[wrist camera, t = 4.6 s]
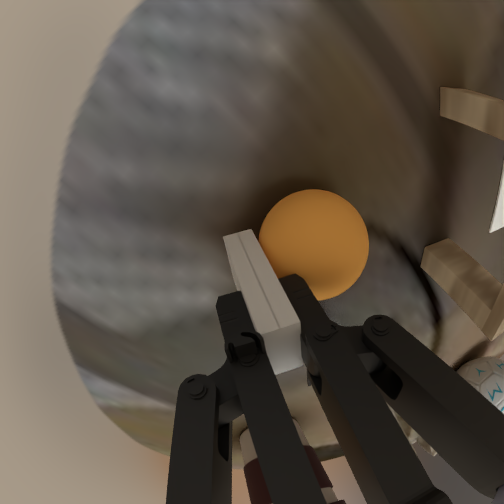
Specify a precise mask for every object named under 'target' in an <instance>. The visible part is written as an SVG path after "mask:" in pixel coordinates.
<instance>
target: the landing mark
mask: <svg viewBox="0 0 504 504" xmlns="http://www.w3.org/2000/svg"><path fill="white" fill-rule="evenodd" d="M502 227H504V162H503V169H502V175H501V180H500V185H499V191H498V195H497V200H496V205H495V209H494V213H493V217H492V221H491V225H490V229H489V233H491V232H493V231H495V230H498V229H500V228H502Z"/></svg>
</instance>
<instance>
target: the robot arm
mask: <svg viewBox="0 0 504 504" xmlns="http://www.w3.org/2000/svg"><path fill="white" fill-rule="evenodd" d="M223 239H224V243H225V247H226V251H227V255H228V259H229V263H230V267H231V271H232V275H233V279H234V282H235V285H236V288H237V292H233V293H230V294H226V295H223V296H219V297H218V300H217V303H216V309H217V313H218V317H219V321H220V325H221V329H222V333H223V336H224V340H225V352H226V355H227V359H226V361H225V363H224V365H223V366H222V367H221V368H220V369H218V370H217V371H216V372H214V373H212V374H211V375H209V376H206V375H202V374H196V375H192V376H190V377H188V378H186V379H185V380H184V381H183V382H182V383H181V385H180V387H179V390H178V397H177V404H176V412H175V420H174V428H173V437H172V445H171V455H170V465H169V474H168V485H167V497H166V504H232V502H231V501H232V497H231V495H232V420H234V419H236V418H237V417H239V416H240V415H242V414H244V415H245V419H246V422H247V425H248V429H249V432H250V435H251V438H252V442H253V445H254V448H255V451H256V454H257V458H258V461H259V464H260V467H261V470H262V473H263V476H264V479H265V482H266V485H267V488H268V491H269V494H270V497H271V500H272V503H273V504H327V502H326V500H325V498H324V495H323V493H322V491H321V488H320V486H319V483H318V481H317V478H316V476H315V474H314V471H313V469H312V466H311V464H310V461H309V459H308V457H307V454H306V452H305V449H304V447H303V444H302V442H301V439H300V437H299V434H298V432H297V429H296V427H295V424H294V422H293V419H292V417H291V414H290V412H289V409H288V407H287V404H286V402H285V399H284V397H283V394H282V392H281V389H280V386H279V384H278V381H277V379H276V376H275V375H277V374H280V373H283V372H286V371H289V370H292V369H295V368H298V367H301V366H303V361H304V363H305V365H306V367H307V382H308V386H311V384H312V387H313V389H314V391H315V393H316V395H317V397H318V399H319V402H320V404H321V406H322V408H323V410H324V412H325V414H326V417H327V419H328V421H329V423H330V425H331V427H332V429H333V432H334V434H335V436H336V438H337V440H338V442H339V444H340V447H341V449H342V451H343V453H344V455H345V457H346V459H347V462H348V464H349V466H350V468H351V470H352V472H353V474H354V477H355V479H356V480H357V483H358V485H359V487H360V489H361V492H362V493H363V496H364V498H365V500H366V502H367V504H452V502H451V500H450V499H449V497H448V496H447V495H446V494H445V493H444V492H443V491H441V490H439V489H437V488H436V487H434V485H433V484H432V482H431V480H430V479H429V477H428V475H427V473H426V471H425V469H424V468H423V466H422V464H421V462H420V460H419V459H418V457H417V455H416V453H415V451H414V450H413V448H412V446H411V444H410V443H409V441H408V439H407V437H406V436H405V434H404V432H403V430H402V429H401V427H400V425H399V424H398V422H397V420H396V418H395V417H394V415H393V413H392V412H391V410H390V408H389V406H390V407H391V408H392V409H393V410H394V411H395V412H396V413H397V414H398V415H399V416H400V417H401V418H402V419H403V420H404V421H405V422H406V423H407V424H408V425H410V426H411V427H412V428H413V429H414V430H415V431H416V432H417V433H418V434H419V435H420V436H421V437H422V438H423V439H424V440H425V441H426V442H427V443H428V444H429V445H430V446H431V447H432V448H433V449H434V450H435V451H436V452H437V453H438V454H439V455H440V456H441V457H442V458H443V459H444V460H445V461H446V462H447V463H448V464H449V465H450V466H451V467H452V468H453V469H454V470H455V471H456V472H457V473H459V475H461V477H463V478H464V479H465V480H466V481H467V482H468V483H469V484H470V485H471V486H472V487H473V488H474V489H476V490H477V491H478V492H480V493H482V494H484V495H485V496H487V497H490V498H492V499H494V500H493V501H492V502H491V504H504V414H503V413H502V412H501V411H500V410H499V409H498V408H497V407H496V406H494V405H493V404H492V403H491V402H490V401H489V400H488V399H487V398H485V397H484V396H483V395H482V394H481V393H480V392H479V391H477V390H476V389H475V388H474V387H473V386H472V385H471V384H469V383H468V382H467V381H466V380H465V379H464V378H462V377H461V376H460V375H459V374H458V373H457V372H455V371H454V370H453V369H452V368H451V367H450V366H448V365H447V364H446V363H445V362H444V361H443V360H441V359H440V358H439V357H438V356H437V355H435V354H434V353H433V352H432V351H431V350H429V349H428V348H427V347H426V346H425V345H423V344H422V343H421V342H420V341H419V340H417V339H416V338H415V337H414V336H413V335H411V334H410V333H409V332H408V331H406V330H405V329H404V328H403V327H402V326H400V325H399V324H398V323H397V322H395V321H394V320H393V319H391V318H390V317H388V316H385V315H374V316H371V317H369V318H368V319H367V320H366V321H365V322H364V325H362V326H352V327H344V326H339V325H338V324H337V323H335V322H333V321H331V320H330V319H329V318H328V317H327V315H326V313H325V312H324V310H323V308H322V307H321V305H320V304H319V302H318V300H317V299H316V297H315V296H314V295H313V292H312V291H311V289H310V288H309V286H308V284H307V283H306V281H305V280H304V279H303V278H302V277H300V276H299V275H297V274H296V273H295V274H292V275H288V276H285V277H282V278H277V276H276V274H275V273H274V271H273V269H272V267H271V265H270V263H269V261H268V259H267V257H266V256H265V254H264V252H263V250H262V248H261V246H260V244H259V242H258V240H257V239H256V237H255V235H254V233H253V231H252V229H249V230H245V231H241V232H238V233H234V234H230V235H227V236H223ZM387 404H388V405H389V406H388V405H387Z"/></svg>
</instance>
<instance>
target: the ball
mask: <svg viewBox="0 0 504 504" xmlns="http://www.w3.org/2000/svg"><path fill="white" fill-rule="evenodd" d="M258 242H259V244H260V246H261V248H262V250H263V252H264V254H265V256H266V257H267V259H268V261H269V263H270V265H271V267H272V269H273V271H274V273H275V274H276V276H277V278H282V277H285V276H288V275H292V274H295V273H296V274H297V275H299V276H300V277H302V278H303V279H304V280H305V281H306V283H307V284H308V286H309V288H310V289H311V291H312V292H313V295H314V296H315V297H316V299H317V300H325V299H329V298H332V297H335V296H337V295H339V294H341V293H342V292H344V291H346V290H347V289H348V288H349V287H351V286H352V285H353V284H354V283H355V281H356V280H357V279H358V278H359V276H360V275H361V273H362V271H363V269H364V267H365V264H366V261H367V258H368V252H369V239H368V233H367V229H366V226H365V224H364V221H363V219H362V217H361V216H360V214H359V213H358V211H357V210H356V209H355V208H354V206H352V205H351V204H350V203H349V202H348V201H347V200H345V199H344V198H342V197H341V196H339V195H337V194H335V193H332V192H329V191H325V190H319V189H309V190H302V191H298V192H295V193H292V194H290V195H288V196H286V197H285V198H283V199H282V200H280V201H279V202H278V203H277V204H276V205H275V206H274V207H273V208H272V209H271V210H270V211H269V213H268V214H267V216H266V218H265V220H264V221H263V224H262V226H261V230H260V234H259V241H258Z"/></svg>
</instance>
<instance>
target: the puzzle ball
mask: <svg viewBox="0 0 504 504" xmlns="http://www.w3.org/2000/svg"><path fill="white" fill-rule="evenodd" d="M456 372H457V373H458V374H459V375H460V376H461V377H462V378H464V379H465V380H466V381H467V382H468V383H469V384H471V385H472V386H473V387H474V388H475V389H476V390H477V391H479V392H480V393H481V394H482V395H483V396H484V397H485V398H487V399H488V400H489V401H490V402H491V403H492V404H493V405H494V406H496V407H497V408H498V409H499V410H500V411H501V412H502V413H503V414H504V361H503V360H501V359H499V358H496V357H491V356H490V357H480V358H477V359H474V360H471V361H469V362H467V363H465V364H464V365H462V366H461V367H460V368H459V369H458V370H457V371H456Z"/></svg>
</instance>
